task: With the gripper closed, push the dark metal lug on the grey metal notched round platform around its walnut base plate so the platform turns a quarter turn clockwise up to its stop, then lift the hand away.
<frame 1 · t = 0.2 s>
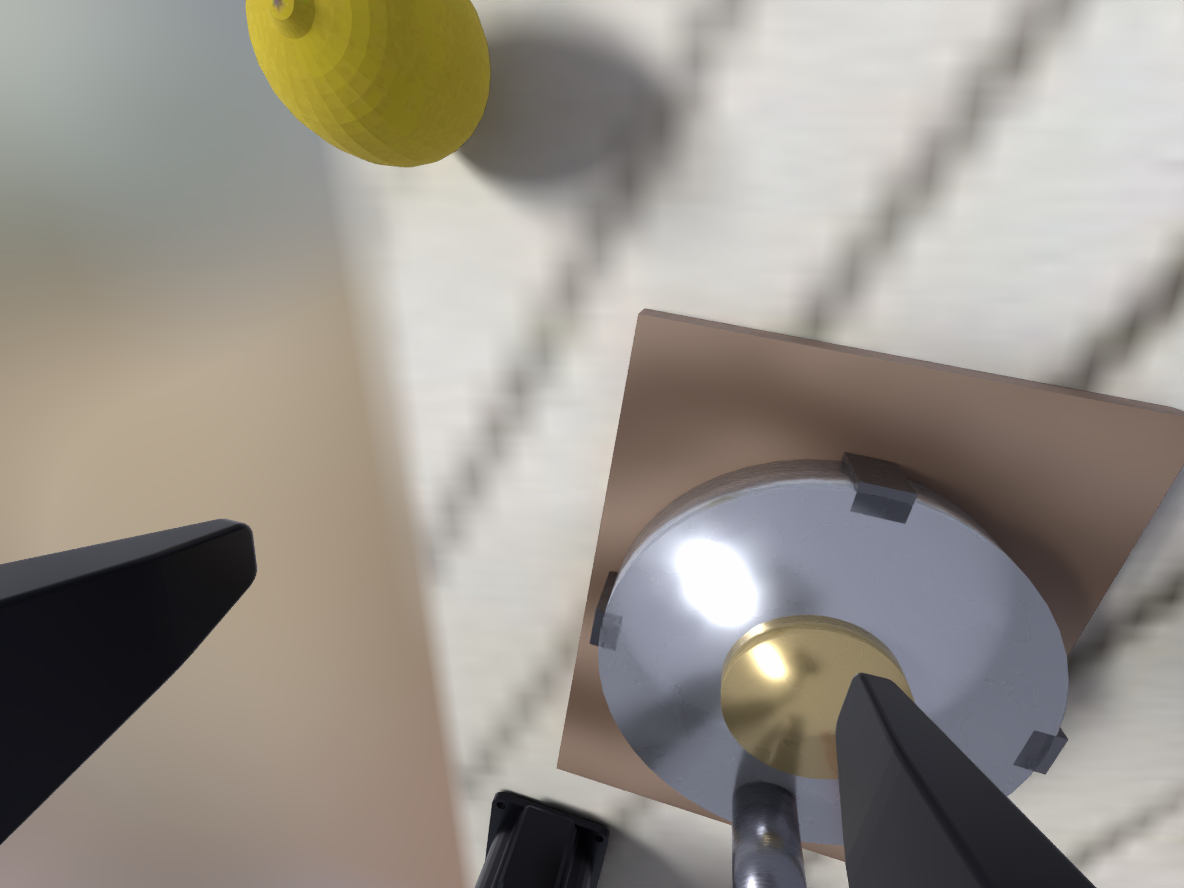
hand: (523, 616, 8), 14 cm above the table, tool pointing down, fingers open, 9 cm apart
lemon: (452, 91, 19), on the table
base plate: (796, 614, 23), on the table
notched round platform: (813, 704, 19), point 5 cm above the table, hinge at 0.0°
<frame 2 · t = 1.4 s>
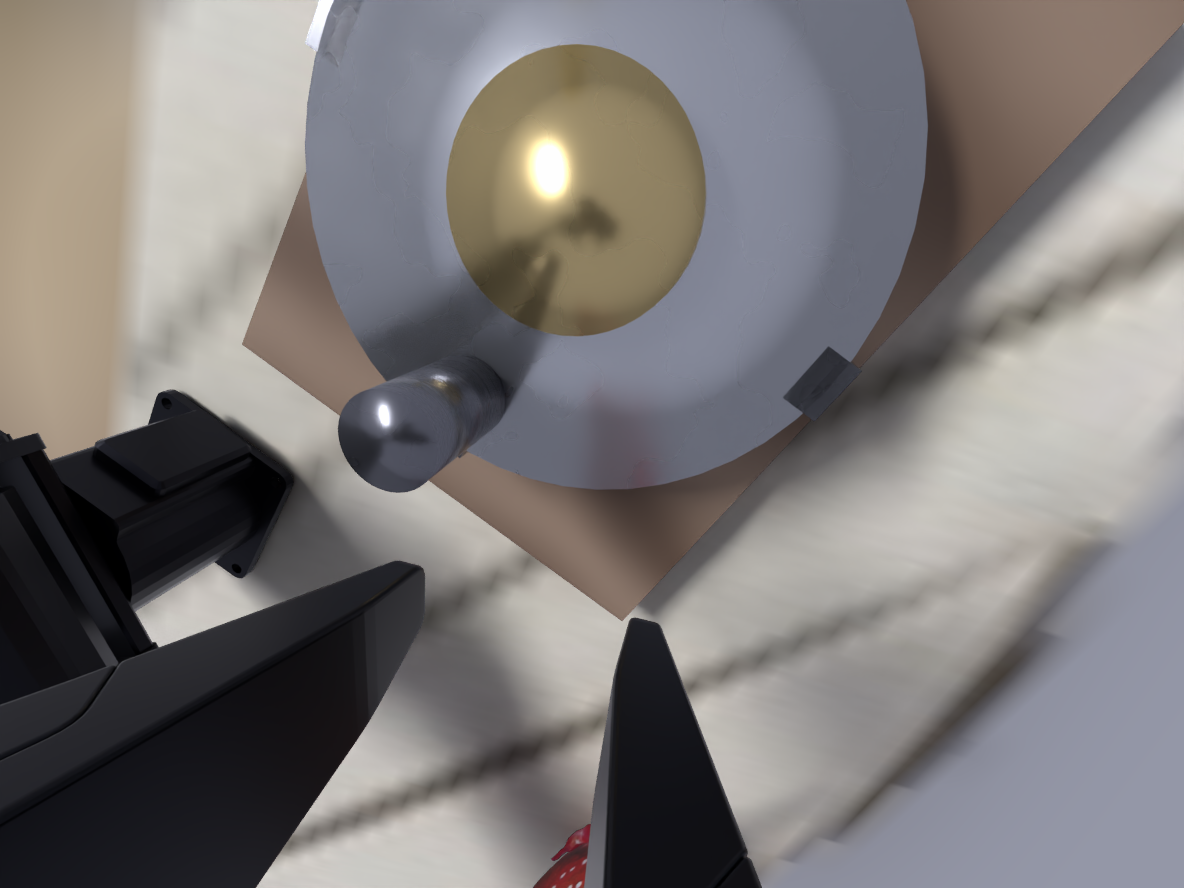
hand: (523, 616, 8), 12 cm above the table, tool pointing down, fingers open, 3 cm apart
decorative bird figurine: (612, 804, 26), on the table
base plate: (612, 213, 17), on the table
notched round platform: (571, 202, 13), point 5 cm above the table, hinge at 0.0°
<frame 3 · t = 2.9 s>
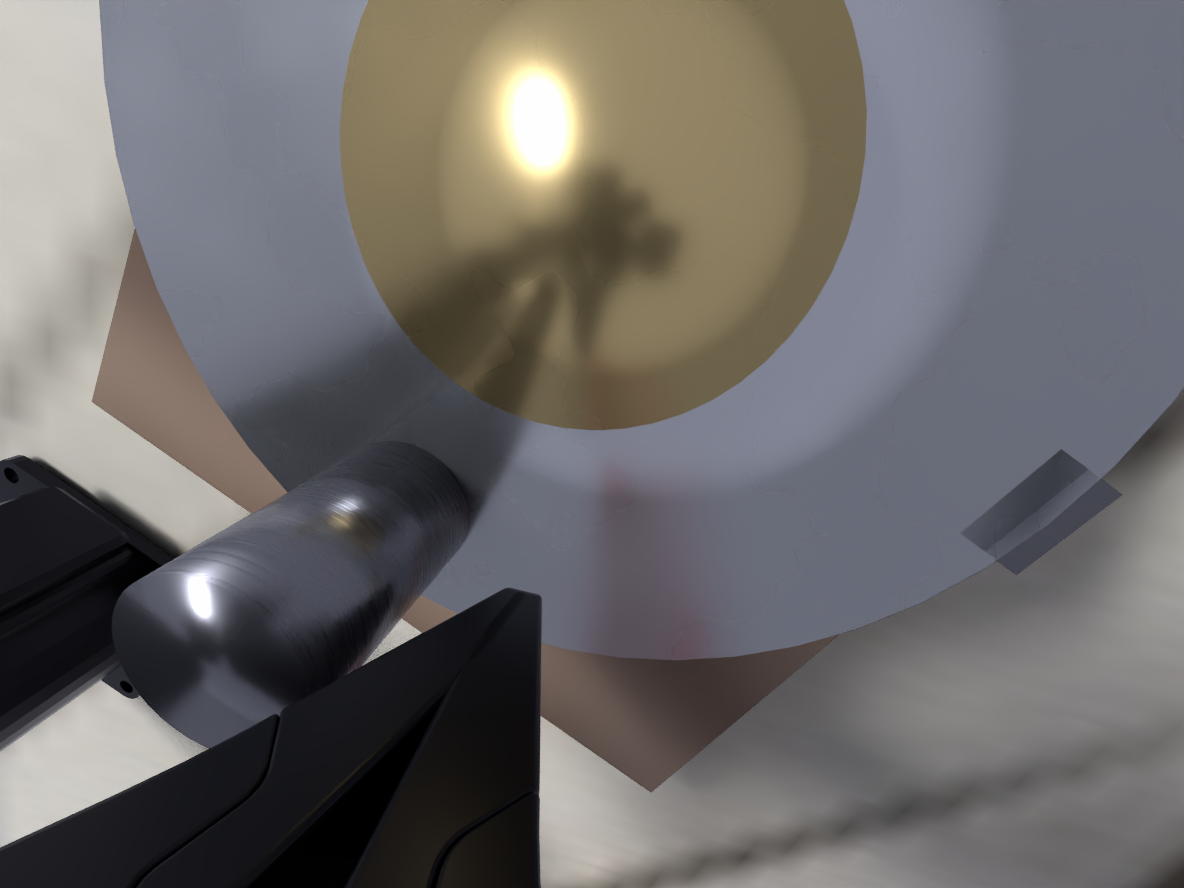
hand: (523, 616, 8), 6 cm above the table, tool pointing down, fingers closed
base plate: (638, 204, 11), on the table
notched round platform: (583, 180, 7), point 5 cm above the table, hinge at 0.3°, touching gripper
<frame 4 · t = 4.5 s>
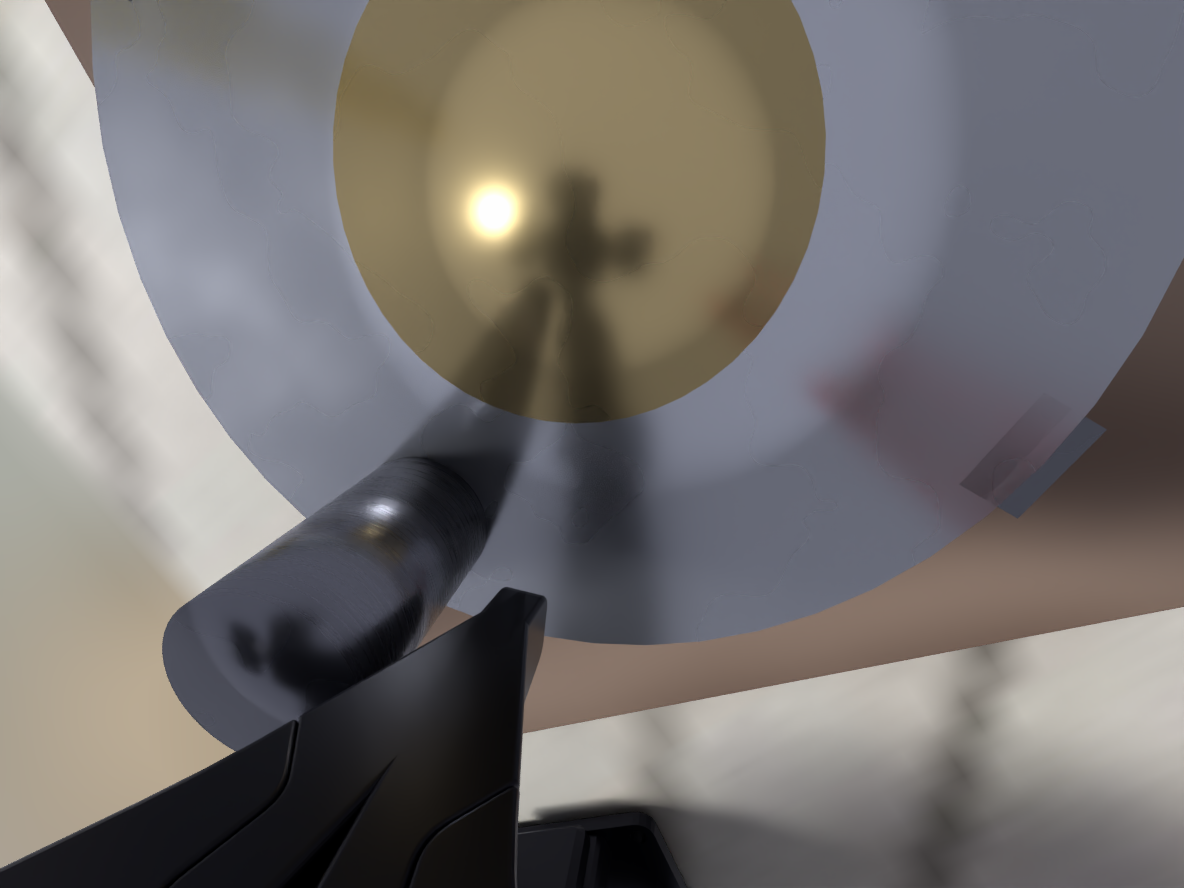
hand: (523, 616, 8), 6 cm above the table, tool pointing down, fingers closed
base plate: (616, 210, 11), on the table
notched round platform: (566, 188, 7), point 5 cm above the table, hinge at 51.3°, touching gripper
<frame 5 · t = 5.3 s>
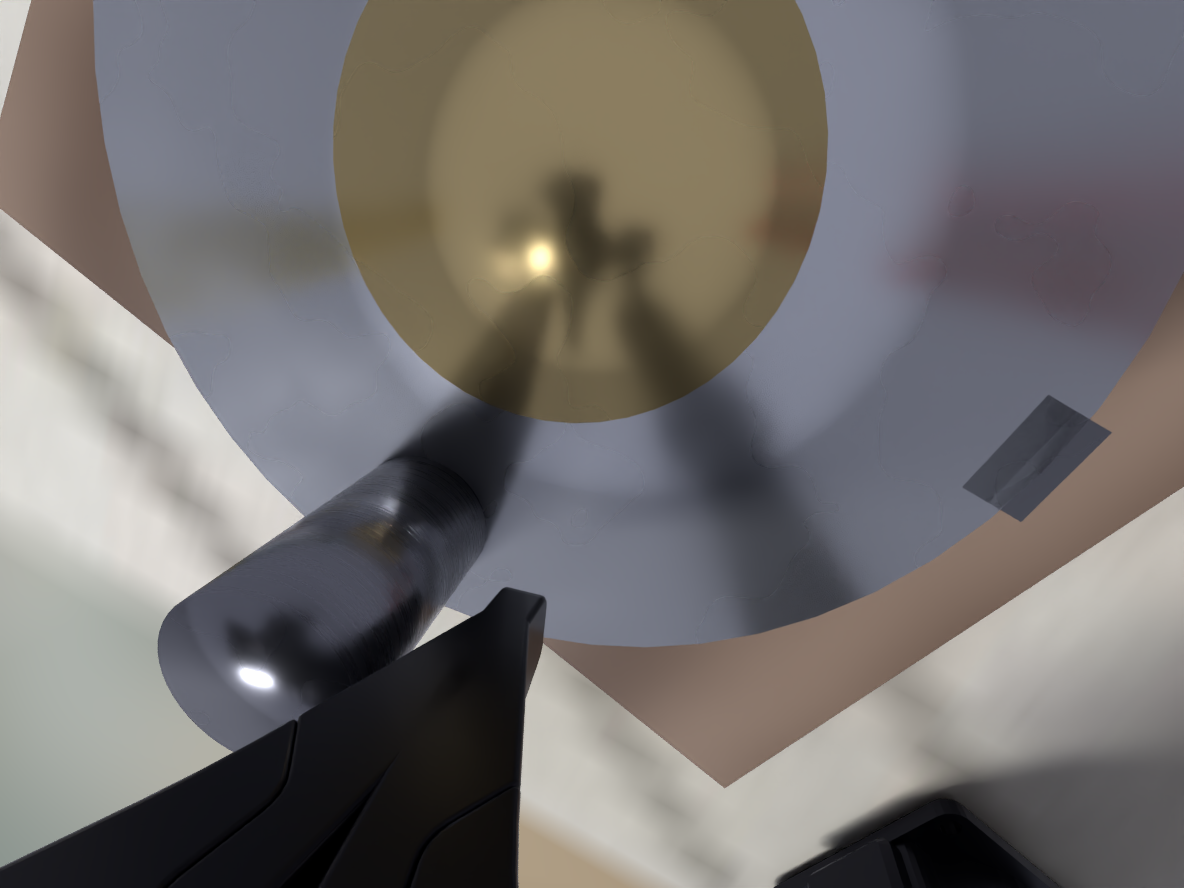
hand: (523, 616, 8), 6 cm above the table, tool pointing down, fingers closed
base plate: (618, 210, 11), on the table
notched round platform: (566, 186, 7), point 5 cm above the table, hinge at 79.3°, touching gripper
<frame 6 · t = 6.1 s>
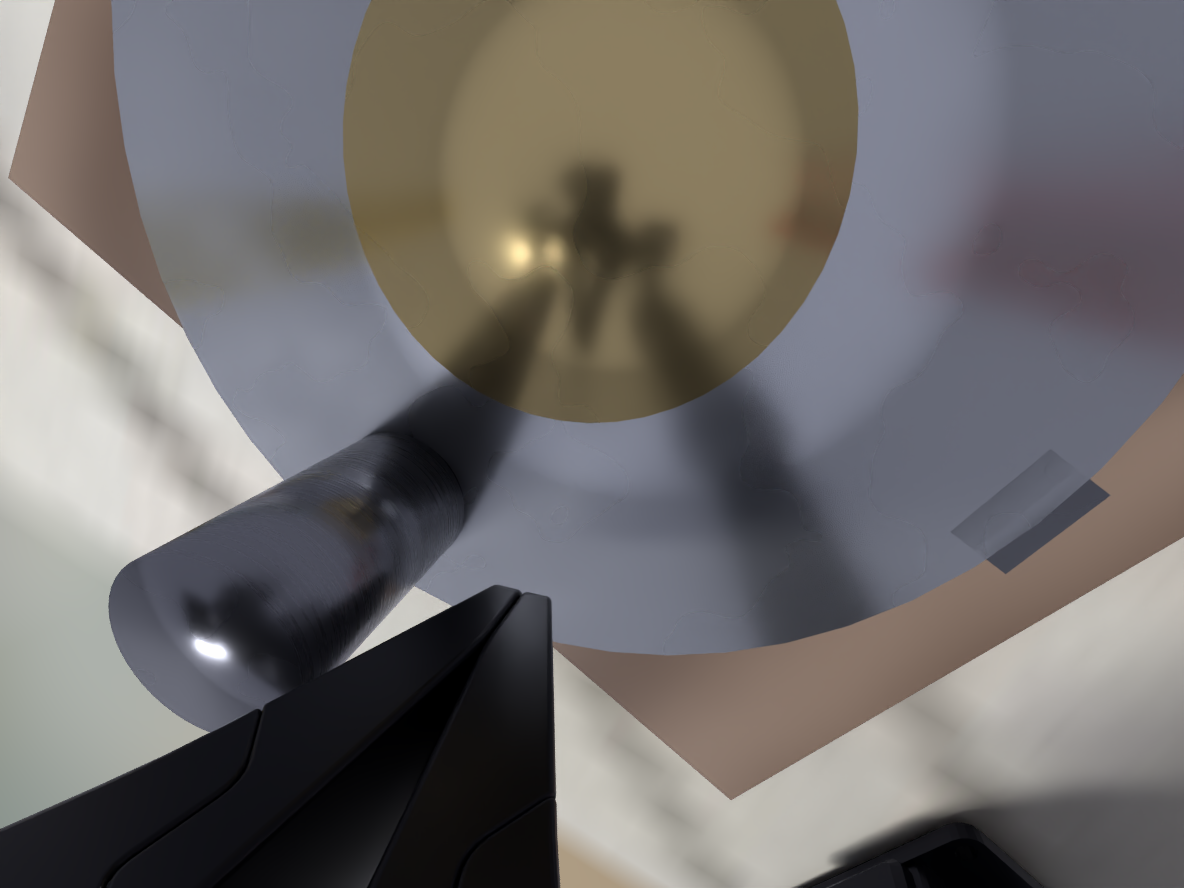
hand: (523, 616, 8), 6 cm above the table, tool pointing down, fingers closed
base plate: (638, 204, 11), on the table
notched round platform: (581, 176, 7), point 5 cm above the table, hinge at 84.7°
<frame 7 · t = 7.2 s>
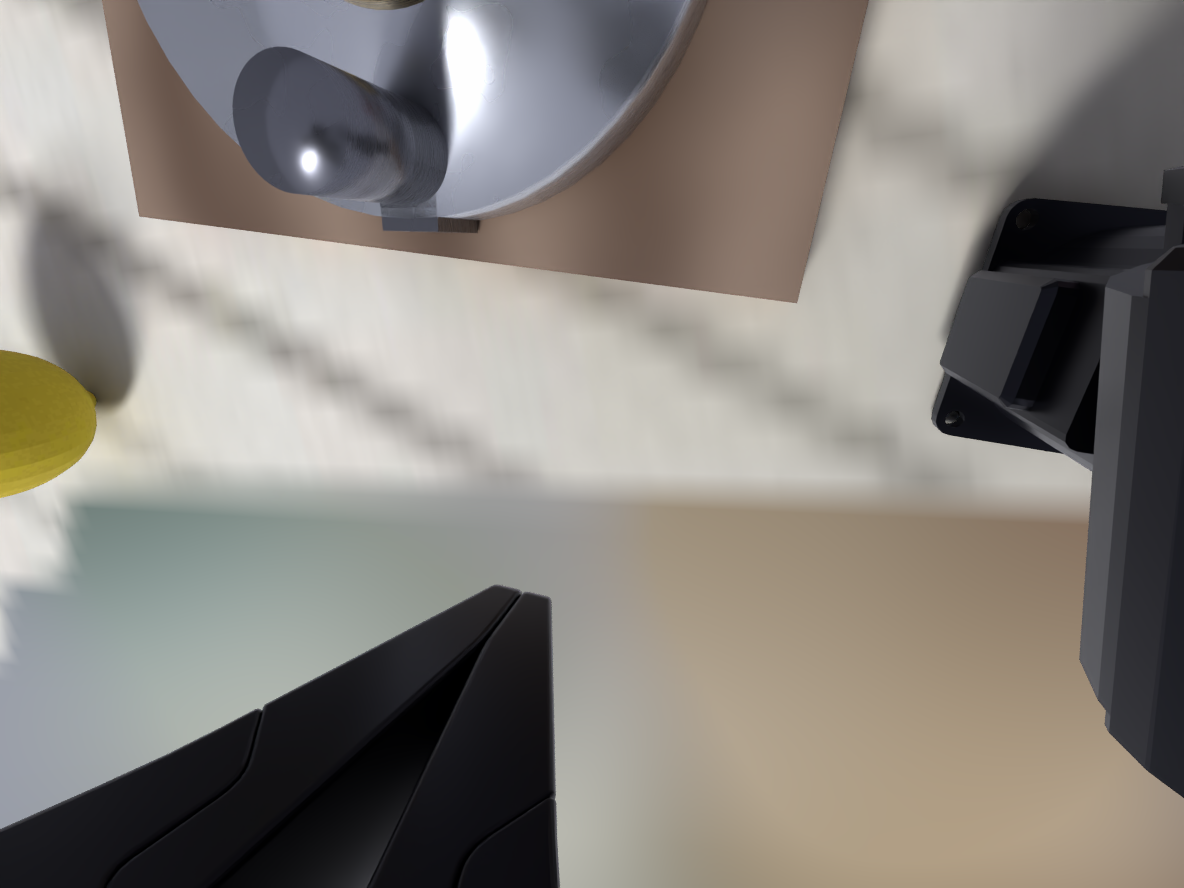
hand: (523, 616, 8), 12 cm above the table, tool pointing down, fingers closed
lemon: (97, 396, 25), on the table
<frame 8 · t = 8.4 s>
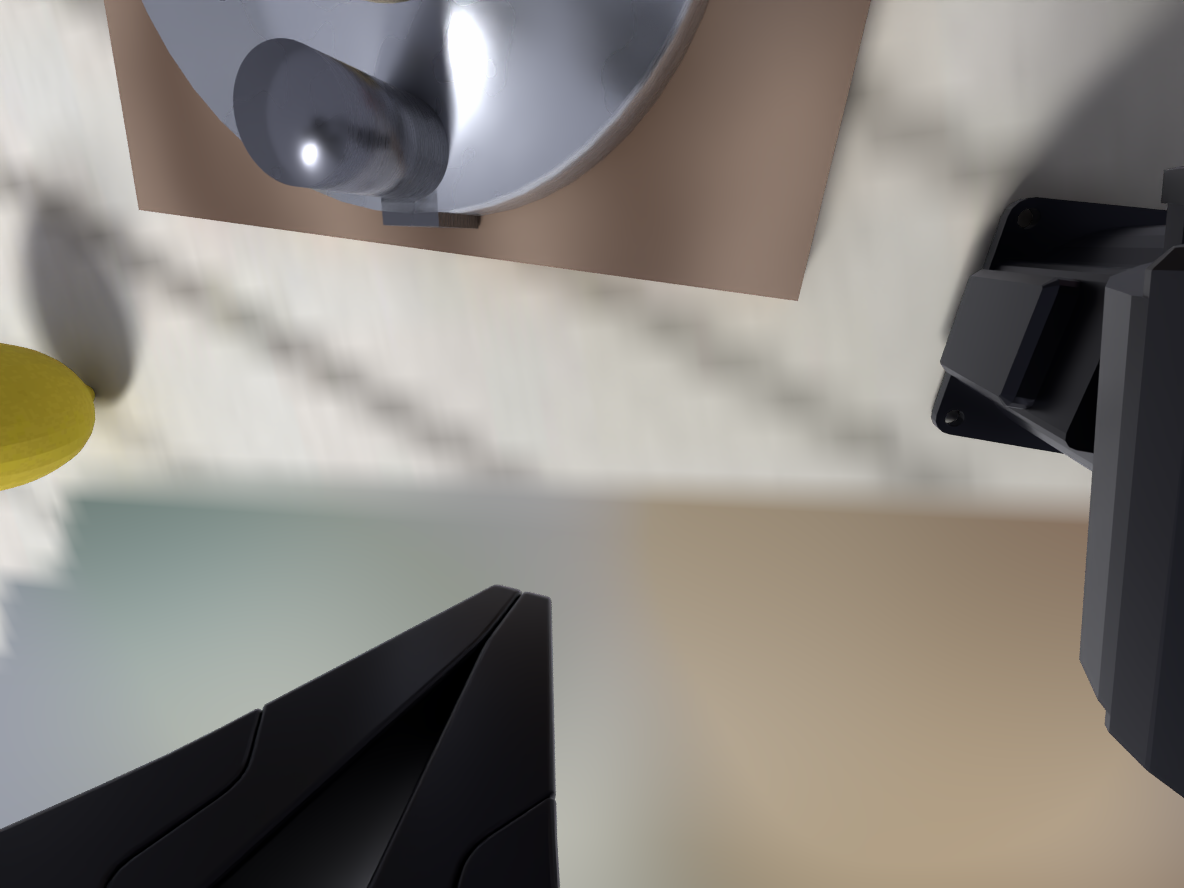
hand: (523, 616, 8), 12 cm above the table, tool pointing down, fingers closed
lemon: (96, 391, 25), on the table
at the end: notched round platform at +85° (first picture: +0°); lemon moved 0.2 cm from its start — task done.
